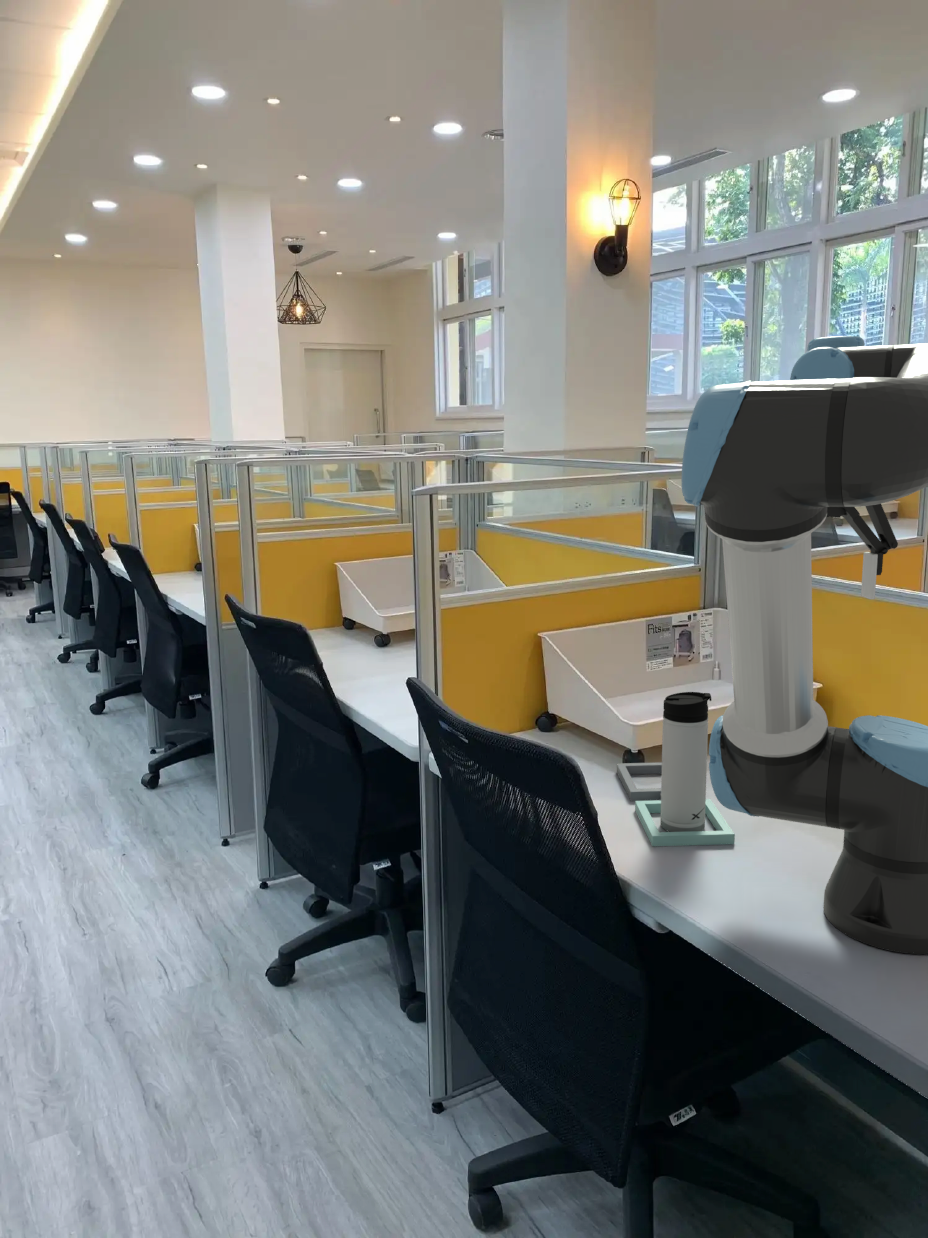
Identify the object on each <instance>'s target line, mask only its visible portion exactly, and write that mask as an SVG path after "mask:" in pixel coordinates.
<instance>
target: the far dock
mask: <svg viewBox="0 0 928 1238" xmlns="http://www.w3.org/2000/svg"><path fill="white" fill-rule="evenodd" d="M616 773H617V775H618V777H619V780H620V783H621V784H622V786H623V787H624V790H625V792H626V795H627V796H628V798H629V800H630V802H635V801H654V800H661V787H654V788H653V787H651V788H650V787H649V788H637V786H636V784H635V783H634V780H633V778H632V776H631V775H648V774H649V775H652V774H653V775H656V774H659V775H660V774H661V775H662V761H661V762H631V763H630V762H627V763H624V762H623V763H616Z"/></svg>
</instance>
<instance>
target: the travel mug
mask: <svg viewBox="0 0 928 1238" xmlns="http://www.w3.org/2000/svg"><path fill="white" fill-rule="evenodd" d="M708 701H709V702H711V701H712V695H711V693H710V692H699V691H685V692H684V691H683V692H677V693H672V694H669V695H667V696H666V697H665V699H664V700H663V714H662V736H661V737H662V742H661V744H662V745H661V746H662V747H661V748H662V749H661V762H662V773H661V781H660V782H661V783H660V785H661V787H660V788H661V813H660V826H661V827H662V828H663V830H664V831H665V832H691V831H705V826H706V814H705V804H706V799H707V798H706V797H707V796H706V795H707V771H708V769H707V768H708V767H707V766H708V739H709V734H708V733H709V706H708V705H709V704H708Z"/></svg>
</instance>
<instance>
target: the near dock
mask: <svg viewBox="0 0 928 1238" xmlns="http://www.w3.org/2000/svg"><path fill="white" fill-rule="evenodd" d="M634 802H635V803H634V810H635V813H636V816H637V817H638V819H639V821H640V823H641V826H642V828H643V830H644V833H645V834H646V836H647V838H648V840H649V843H650V842H651V843H650V844H651V847H673V846H674V847H679V846H684V847H685V846H712V845H713V846H714V845H717V846H718V845H735V842H736V841H735V837H736V835H735V832H734V831H733V830H732V827H730V825H729V823H728V822H727V821H726V819H725V818H724V816H723V815H722V814H721V811H719V809H718V807H716V805H715V803H714V802H713V801H712V799H711V798H706V804H705V816H706V817H707V818H708V819H709V822H710V823H711V824H712V826H713V828H714V829H715V830H703V831H691V832H668V831H661V832H660V830H659V828H658V827H657V825H656V823H655V821H654V819H653V817H652V816H651V814H661V800H648V801H634Z"/></svg>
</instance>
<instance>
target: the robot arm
mask: <svg viewBox="0 0 928 1238" xmlns="http://www.w3.org/2000/svg"><path fill="white" fill-rule="evenodd" d="M806 349H807V350H806V352H805V353H804V354H802V355H801V356H800V357H799V358H798V359H797V360H796V362H795V363H794V365H793V367H792V369H791V373H790V378H789V380H769V381H768V380H767V381H753V380H752V379H751V380H750V379H748V380H746V381H744V382H735V383H726V384H725V383H724V384H717V385H712V386H711V387H708V388H707V389H706V390H705V391H704V392H702V394H701V395H700V396H699V398H698V399H697V401H696V403H695V405H694V408H693V410H692V414H691V416H690V420H689V423H688V426H687V427H688V428H687V431H686V436H685V442H684V449H683V456H682V462H681V463H682V464H681V493H682V496H683V499H684V501H685V502H686V503H687V504H688V505H693V506H694V507H700V506H701V505H702V506H703V507H704V520H705V525H706V526H707V529H708V531H710V532H711V533H713V534H714V535H715V536H717V537H718V538H720V539H721V540H722V554H723V567H724V581H725V594H726V608H727V622H728V634H729V648H730V659H731V660H730V662H731V663H730V664H731V674H732V675H731V676H732V686H733V701H732V702H731V703H730V704H729V705H728V706H727V707H726V709H725V710H724V713H723V714H722V715H720V716H719V717H717V719H716V720H715V722H714V724H713V726H712V730H711V733H710V738H709V745H708V756H709V763H708V770H709V778H710V782H711V787H712V789H713V790H712V791H713V793H714V796H715V798H716V799H717V801H718V802H719V804H721V805H722V807H724V808H726V809H727V810H731V811H735V812H738V813H743V814H746V815H748V816H751V817H758V818H759V817H760V818H761V817H762V818H769V819H775V820H781V821H787V822H793V823H800V824H808V825H812V826H818V827H826V828H831V829H837V830H843V833H844V834H843V846H842V851H841V853H840V855H839V857H838V860H837V861H836V864H835V866H834V868H833V870H832V873H831V874H830V876H829V879H828V881H827V883H826V886H825V889H824V895H823V913H824V915H825V917H826V919H827V920H828V921H829V923H831V925H832V926H834V927H835V928H836V929H837V930H839V931H840V932H841V933H842V934H845V935H846V936H848V937H850V938H851V939H854V940H856V941H858V942H861V943H863V944H865V945H869V946H871V947H874V948H878V949H882V950H886V951H891V952H895V953H896V952H897V953H900V954H901V953H903V954H911V955H913V954H914V955H928V725H926V724H922V723H919V722H916V721H913V720H909V719H905V718H899V717H896V716H895V717H894V716H888V715H876V716H874V715H870V714H869V715H860V716H858V717H855V718H854V719H853V720H852V721H851V723H850V724H849V727H848V728H843V727H836V726H830V725H829V721H828V716H827V713H826V711H825V710H824V708H823V706H821V705H820V703H818V702H817V701H816V700H815V699H814V665H813V664H814V661H813V660H814V659H813V658H814V657H813V655H814V651H813V641H814V640H813V585H812V584H813V583H812V581H813V580H812V578H813V577H812V574H813V573H812V533H813V532H815V531H816V530H817V529H818V528H820V527H821V526H822V525H823V523H824V522H825V520H826V519H827V518H829V517H830V518H836V519H837V518H838V519H839V518H841V517H842V518H844V520H845V521H846V522H847V523H848V524H849V525H850V527H851V528H852V529H853V531H854V532H855V534H857V535H858V537H859V538H860V540H861V541H862V542H863V543H864V544H865V546H866V547H867V548H868V550H870V551H863V559H862V572H861V589H860V590H861V591H860V596H861V597H863V598H866V599H868V600H875V599H876V585H877V576H881V575H882V572H883V566H884V565H883V563H884V555H886V554H888V552H889V550H892V549H893V550H895V549H896V548H897V547H898V546H899V542H898V540H897V538H896V536H895V533H894V531H893V529H892V526H891V524H890V522H889V519H888V517H887V515H886V512H885V509H884V508H883V505H882V504H884V503H888V502H893V501H896V500H898V499H902V498H904V497H907V496H908V497H909V496H910V495H912V494H914V493H916V492H918V491H921V490H923V489H924V488H927V487H928V342H925V343H924V342H922V343H921V342H920V343H911V344H910V343H908V344H906V343H905V344H887V345H886V344H885V345H884V344H883V345H882V344H881V345H866V344H865V340H864V339H863V338H862V337H861V336H858V335H856V336H855V335H854V336H853V335H837V336H824V337H817V338H813V339H811V340H810V341H809V342H808V343H807V347H806ZM857 507H858V508H861V507H865V509H866V511H867V513H868V516H869V518H870V521H871V522H872V525H873V527H874V530H875V532H876V534H877V535H876V534H875V533H874V531H873V530H872V529H871V528H870V527H869V525H868V524H867V522H866V521H865V520H864V519H863V518H862V516H861V515H860V511H858V509H857Z"/></svg>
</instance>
